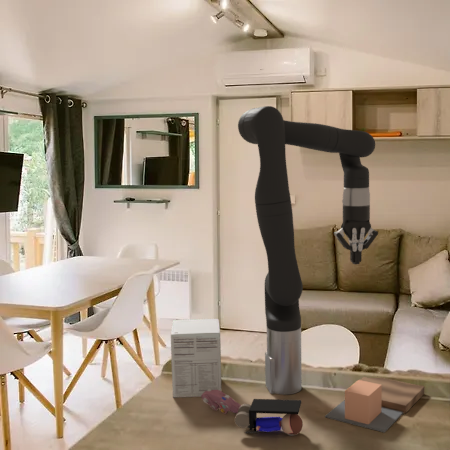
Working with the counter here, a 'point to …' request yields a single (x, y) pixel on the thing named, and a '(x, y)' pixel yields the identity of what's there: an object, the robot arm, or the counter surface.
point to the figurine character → (273, 406)
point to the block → (363, 401)
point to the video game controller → (220, 401)
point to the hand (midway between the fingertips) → (355, 263)
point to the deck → (397, 393)
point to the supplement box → (195, 357)
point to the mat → (378, 423)
